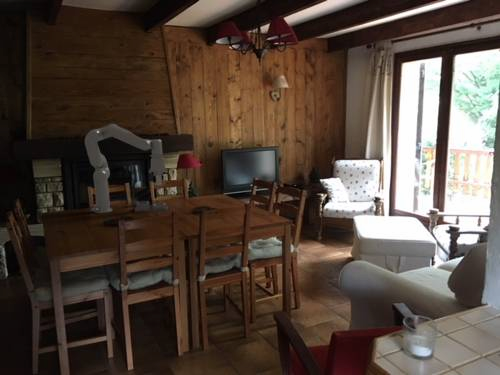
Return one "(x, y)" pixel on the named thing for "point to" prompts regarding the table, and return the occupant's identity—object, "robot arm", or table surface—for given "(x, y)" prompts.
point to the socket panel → (145, 207)
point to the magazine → (144, 195)
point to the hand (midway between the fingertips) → (158, 180)
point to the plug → (158, 178)
